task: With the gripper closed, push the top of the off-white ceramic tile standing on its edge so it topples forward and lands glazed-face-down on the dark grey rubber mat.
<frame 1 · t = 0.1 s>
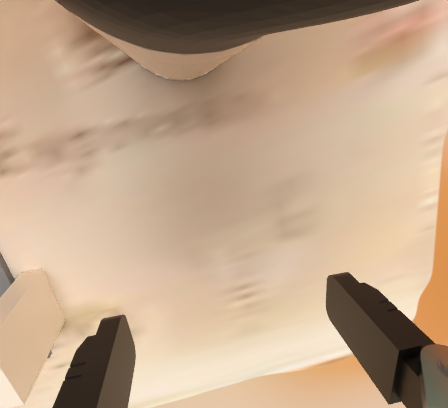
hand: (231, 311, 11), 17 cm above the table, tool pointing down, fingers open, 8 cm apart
tile: (45, 297, 29), on the table
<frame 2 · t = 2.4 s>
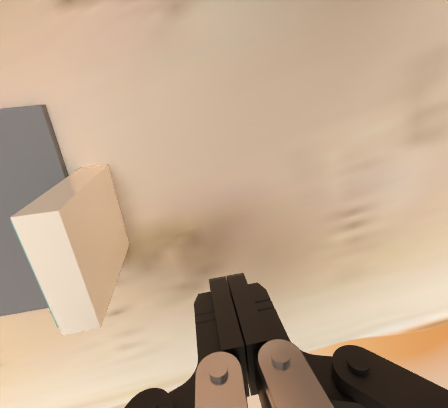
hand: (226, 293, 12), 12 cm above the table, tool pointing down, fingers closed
mat: (5, 223, 20), on the table
tile: (106, 208, 21), on the table
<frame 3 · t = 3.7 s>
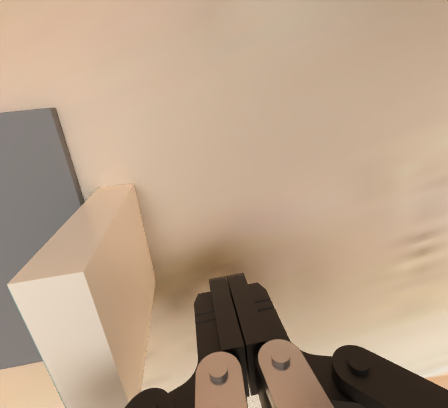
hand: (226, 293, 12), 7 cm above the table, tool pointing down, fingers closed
mat: (2, 257, 16), on the table
tile: (129, 237, 17), on the table
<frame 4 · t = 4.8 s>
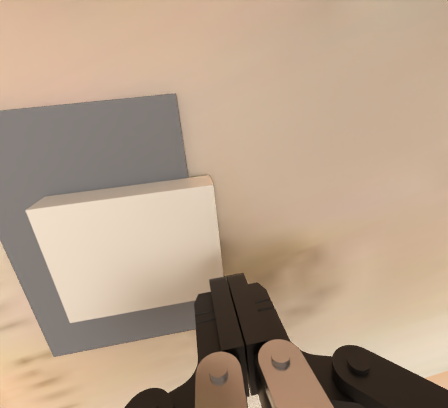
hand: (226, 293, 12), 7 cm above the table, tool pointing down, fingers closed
mat: (108, 239, 17), on the table
tile: (217, 236, 16), point 2 cm above the table, tilted 90°, touching mat
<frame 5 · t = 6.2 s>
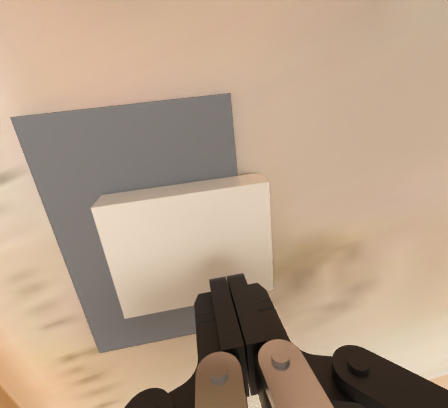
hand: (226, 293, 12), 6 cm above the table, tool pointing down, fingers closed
mat: (156, 236, 17), on the table
tile: (266, 232, 16), point 2 cm above the table, tilted 90°, touching mat
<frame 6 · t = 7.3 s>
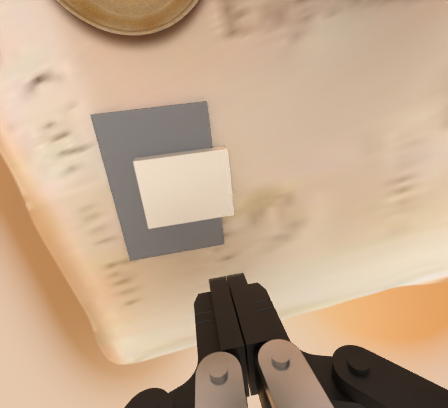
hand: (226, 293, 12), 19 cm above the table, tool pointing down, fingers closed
mat: (165, 185, 29), on the table
tile: (229, 180, 28), point 2 cm above the table, tilted 90°, touching mat
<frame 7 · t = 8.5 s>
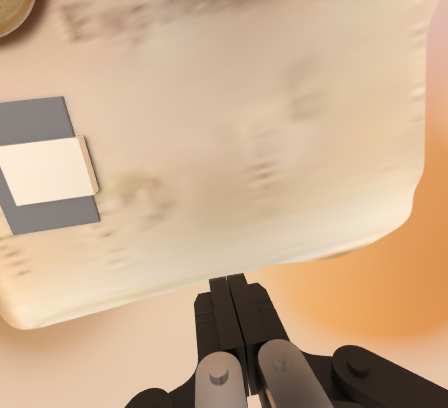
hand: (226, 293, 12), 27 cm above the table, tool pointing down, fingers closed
mat: (38, 169, 34), on the table
tile: (88, 165, 33), point 2 cm above the table, tilted 90°, touching mat
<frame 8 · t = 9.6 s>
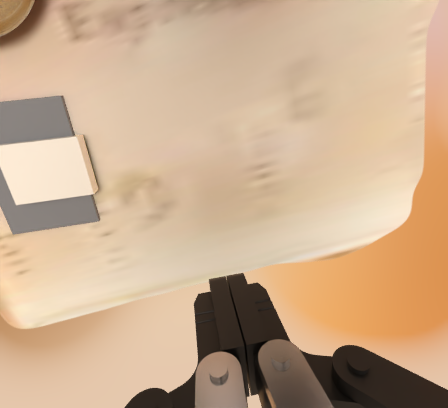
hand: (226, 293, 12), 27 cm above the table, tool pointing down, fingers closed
mat: (37, 168, 34), on the table
tile: (88, 164, 33), point 2 cm above the table, tilted 90°, touching mat
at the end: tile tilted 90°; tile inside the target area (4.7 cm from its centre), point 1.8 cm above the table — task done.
